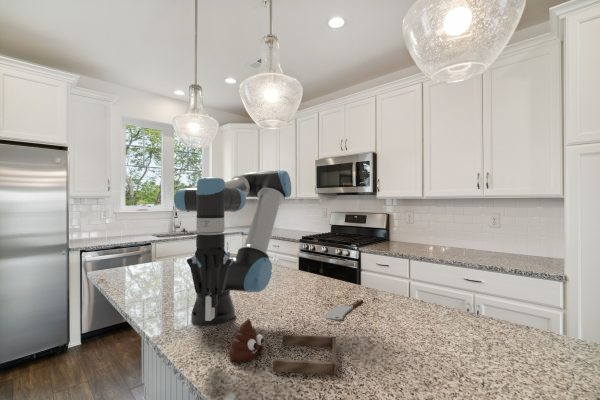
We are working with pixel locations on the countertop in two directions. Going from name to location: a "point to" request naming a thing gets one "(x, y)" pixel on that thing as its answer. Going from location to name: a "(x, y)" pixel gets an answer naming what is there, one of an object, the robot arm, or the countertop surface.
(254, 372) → the countertop surface
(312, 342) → the walnut corral
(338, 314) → the kitchen cleaver
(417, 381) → the countertop surface
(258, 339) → the poop emoji
